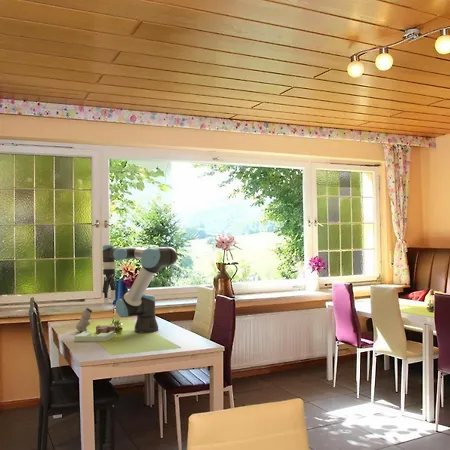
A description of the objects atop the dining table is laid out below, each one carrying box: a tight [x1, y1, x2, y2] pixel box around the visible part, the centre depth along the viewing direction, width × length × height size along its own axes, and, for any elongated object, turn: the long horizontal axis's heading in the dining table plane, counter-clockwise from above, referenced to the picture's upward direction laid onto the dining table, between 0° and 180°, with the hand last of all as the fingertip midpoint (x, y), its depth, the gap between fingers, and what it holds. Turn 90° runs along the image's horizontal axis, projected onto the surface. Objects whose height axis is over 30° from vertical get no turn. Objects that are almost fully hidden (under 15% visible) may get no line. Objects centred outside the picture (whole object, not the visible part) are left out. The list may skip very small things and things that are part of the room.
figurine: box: [75, 307, 93, 333], centre depth 340 cm, size 9×10×15 cm
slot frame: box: [74, 331, 115, 342], centre depth 316 cm, size 19×14×3 cm
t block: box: [95, 324, 117, 335], centre depth 332 cm, size 12×12×4 cm
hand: (109, 301), depth 343 cm, fingers open, 12 cm apart
